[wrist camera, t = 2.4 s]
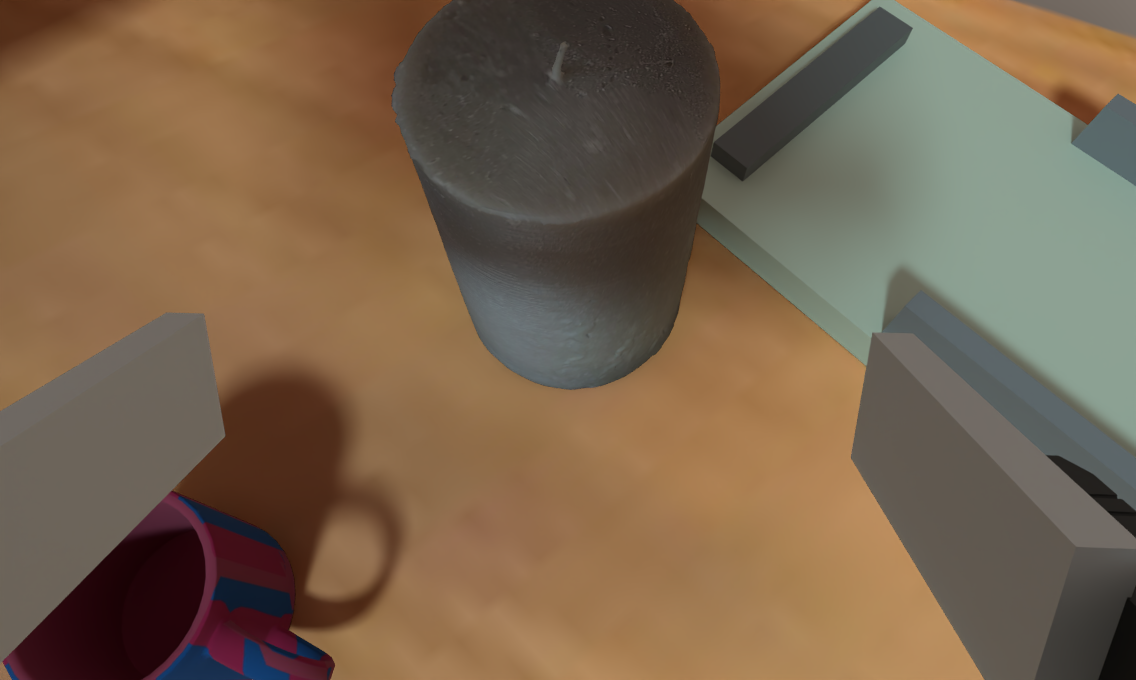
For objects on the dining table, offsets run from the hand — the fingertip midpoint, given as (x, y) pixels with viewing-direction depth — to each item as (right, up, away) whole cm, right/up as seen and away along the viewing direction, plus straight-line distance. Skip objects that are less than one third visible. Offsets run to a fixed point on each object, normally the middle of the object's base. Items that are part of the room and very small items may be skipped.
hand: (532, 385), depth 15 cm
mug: (-12, -10, +14) cm, 21 cm away
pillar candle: (+1, +3, +20) cm, 20 cm away
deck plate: (+20, +4, +19) cm, 28 cm away
